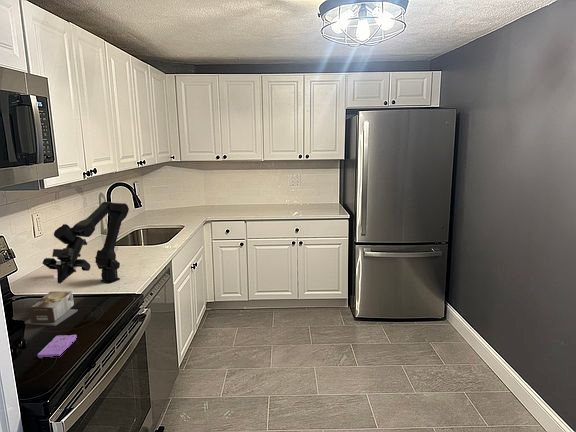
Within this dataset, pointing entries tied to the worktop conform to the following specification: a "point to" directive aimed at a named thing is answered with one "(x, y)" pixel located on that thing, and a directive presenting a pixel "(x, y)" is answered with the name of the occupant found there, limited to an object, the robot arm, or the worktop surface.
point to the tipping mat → (63, 317)
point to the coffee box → (51, 307)
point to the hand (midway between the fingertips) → (58, 283)
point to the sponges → (57, 346)
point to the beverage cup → (55, 269)
